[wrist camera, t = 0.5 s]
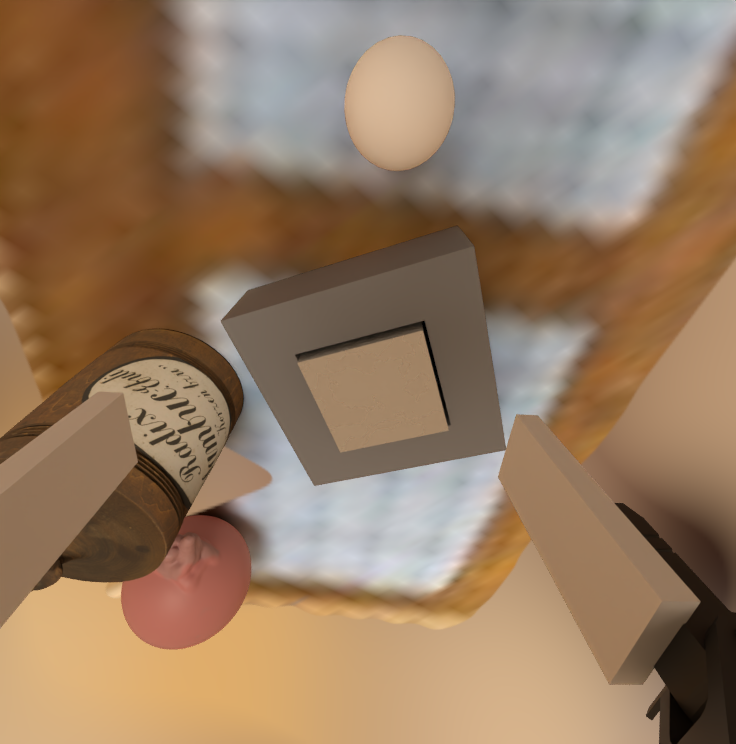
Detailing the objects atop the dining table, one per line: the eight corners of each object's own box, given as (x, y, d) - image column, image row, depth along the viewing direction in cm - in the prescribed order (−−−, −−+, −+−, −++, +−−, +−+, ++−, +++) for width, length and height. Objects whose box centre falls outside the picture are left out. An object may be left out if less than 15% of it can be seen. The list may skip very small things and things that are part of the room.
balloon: (282, 489, 50) (246, 610, 37) (253, 563, 61) (218, 679, 48) (167, 457, 48) (86, 575, 35) (158, 541, 58) (93, 656, 45)
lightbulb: (364, 171, 29) (355, 187, 20) (345, 76, 26) (323, 44, 17) (441, 151, 29) (469, 158, 19) (431, 50, 25) (457, 1, 16)
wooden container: (269, 412, 43) (183, 618, 25) (174, 449, 47) (38, 651, 29) (184, 304, 36) (-25, 479, 18) (81, 359, 40) (-178, 548, 22)
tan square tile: (419, 314, 30) (422, 330, 28) (444, 409, 36) (448, 430, 33) (304, 345, 32) (297, 362, 30) (343, 431, 38) (340, 452, 35)
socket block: (457, 225, 31) (474, 246, 25) (488, 405, 41) (506, 450, 36) (248, 290, 35) (220, 321, 29) (323, 440, 45) (314, 485, 39)
